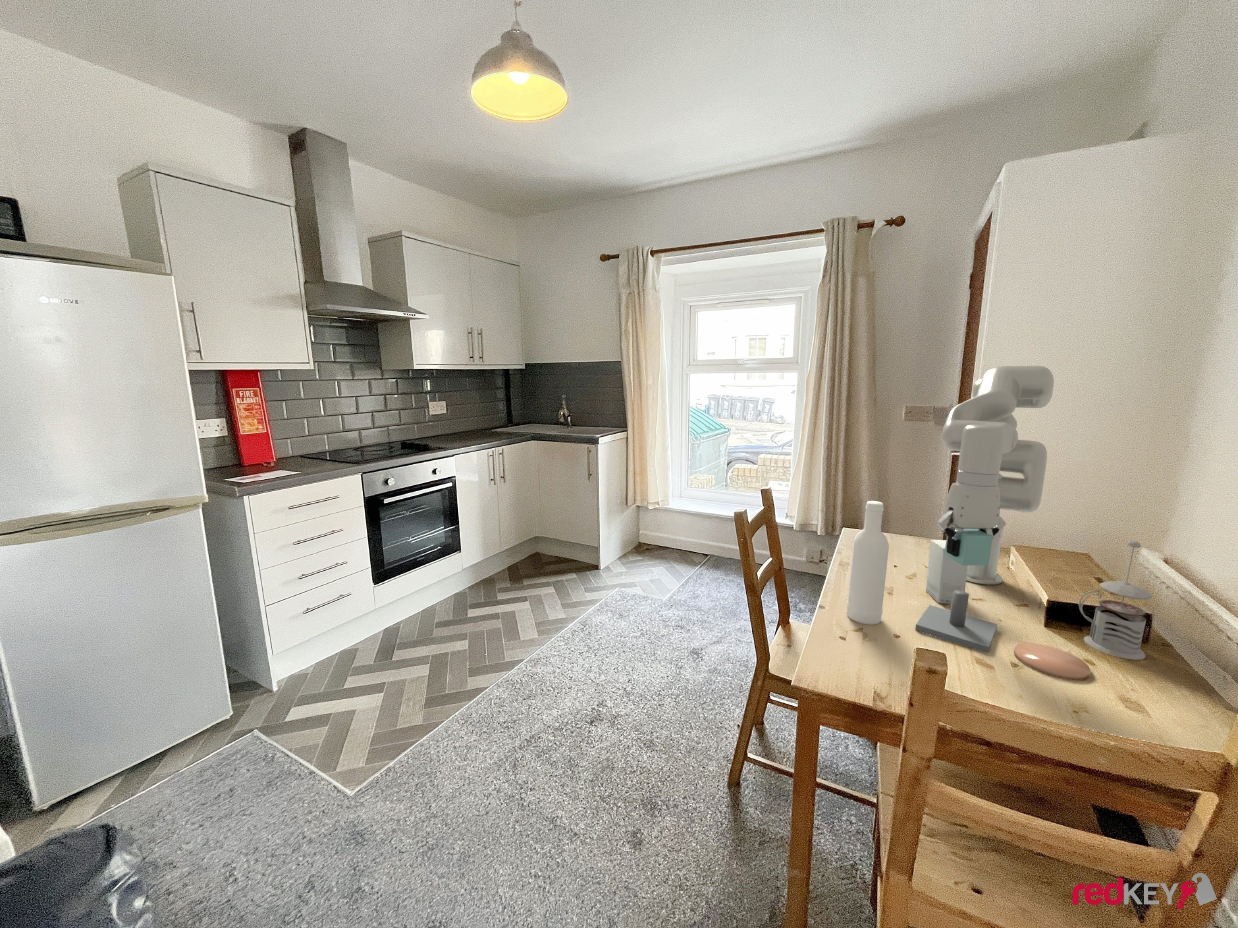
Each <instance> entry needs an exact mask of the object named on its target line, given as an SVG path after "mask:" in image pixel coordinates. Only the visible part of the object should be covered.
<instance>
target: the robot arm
mask: <svg viewBox="0 0 1238 928" xmlns="http://www.w3.org/2000/svg"><path fill="white" fill-rule="evenodd" d="M1054 382H1055V381H1054V375H1053V372H1052V371H1051V369H1050V368H1048V367H1046V366H1043V365H1004V366H1003V365H1002V366H1001V365H1000V366H996V367H993V368H991V369H989V370H987V371H986V372H985V373H984V374H983V375H982V377H981V378H978V379H977V380H976V381H975V382H974V384H973V385H972V398H969V399H968V400H965V401H963V402H962V403H959V404H957V405H956V406H955V407H953V408H952V409H951V410H950V412H948V415H947V417H946V420H945V423H944V425H943V428H942V432H941V443H942V445H943V447H944V448H945V449H948V451H949V450H950V451H953V452H954V451H955V452H959V458H958V466H957V473H956V481H955V482H953V483H952V484H951V485H950V488H949V491H948V493H947V496H946V500H945V504H944V509H943V514H942V516H941V517H940V518H939V519H938V520H937V521H936V522H935V523H936V525H937V526H938V527H939V529H941V531H942V532H943V534H944V535H945V536H946V538H947V537H948V541H947V553H949V554H951V555H953V556H955V557H958V556H959V548H960V540H958V539H959V537H960V535H961V533H962V531H963V529H977V530H980V531H982V532H985V533H987V534H989V535H992V536H993V538H992V545H991V551H990V558H989V565H968V567H967V576H966V582H969V583H970V582H971V583H976V584H980V585H989V586H992V585H999V584H1001V583H1002V582H1003V577H1002V575H1000V574H999V573H997V571H998V564H999V560H1000V559H999V558H1000V552H1001V551H1000V550H1001V545H1002V539H1003V532H1004V527H1005V526H1006V525H1007V523H1006V521H1005V520H1004V519H1003V518H1002V516H1001V515H1000V514H1001V510H1004V511H1005V510H1006V511H1012V512H1021V513H1033V512H1035V511H1037V510H1038V508H1039V507H1040V504H1041V501H1042V495H1043V488H1044V481H1045V476H1046V468H1047V461H1048V450H1047V448H1046V446H1045V445H1044V443H1042V442H1040V441H1036V440H1028V439H1019V433H1018V431H1017V427H1018V422H1017V419H1016V418H1015V416H1014V415H1013V413H1014V411H1015V410H1016V408H1018V409H1019V408H1020V409H1021V408H1022V409H1041V408H1044V407H1046V406H1047V405H1048V404H1049V402H1050V401H1051V399H1052V397H1053V391H1054V385H1055V384H1054ZM1000 472H1003V473H1004V472H1005V473H1015V474H1020V475H1021V476H1022V477H1013V476H1012V477H1011V476H1003V475H1002V473H1000ZM948 524H950V525H948ZM955 528H956V530H955ZM954 530H955V532H954Z"/></svg>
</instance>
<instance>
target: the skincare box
mask: <svg viewBox="0 0 1238 928" xmlns="http://www.w3.org/2000/svg"><path fill="white" fill-rule="evenodd" d="M945 547H946V539H944V540H943V539H942V540H941V539H930V540H929V553H928V560H927V561H928V564H927V576H926V584H925V585H926V587H925V592H926V591H927V592H928V593H927V592H926V593H927V594H929V596H931V597H932V599H934V601H936V602H937V603H938V604H946V605H952V599H953V591H955V590H960V591H964V592H966V585H967V580H966V576H967V567H968V565H961V564H959V563H957V562H955V561H953V560H951V559H950V558H948V557H946V556H944V554H945Z"/></svg>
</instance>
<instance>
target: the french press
mask: <svg viewBox="0 0 1238 928" xmlns="http://www.w3.org/2000/svg"><path fill="white" fill-rule="evenodd" d="M1127 546H1129V547H1131V548H1132V551H1131V556H1130V562H1129V565H1128V572H1127V575H1126V580H1125V581H1122V580H1121V581H1120V580H1117V581H1116V580H1112V581H1111V580H1110V581H1109V580H1108V581H1105V582H1101V583H1099V588H1101V590H1103V591H1105V592H1108V593H1110V594H1113V595H1116V596H1119V597H1122V600H1121V601H1118V600H1113V599H1102V595H1103V594H1102V593H1100V591H1099V590H1098V589H1094V590H1088V591H1087V592H1084V594H1083V595H1081V596H1080V598H1079V601H1078V609H1079V611H1080V613H1081V615H1082V616H1083V618H1085V619H1086V620H1087V621H1088V622H1090V623H1091V625H1090V631H1089V635H1087V636H1086V635H1085V636H1084V637H1083V641H1084V642H1085V643H1086V645H1088V646H1090V647H1091V648H1093V649H1094V650H1097V651H1099V652H1102V653H1104V654H1107V655H1110V656H1114V657H1118V658H1121V659H1126V660H1127V659H1129V660H1143V659H1145V658H1146V654H1145V652H1144V651H1143V650H1142V649H1141V646H1142V645H1141V644H1142V640H1143V635H1144V631H1145V626H1146V622H1147V619H1146V618H1145V617H1144V615H1146V612H1145V610H1144V609H1142V608H1140V607H1139V606H1136V605H1134V604H1133V605H1132V604H1130V603H1126V602H1124V601H1125V598H1126V599H1127V598H1128V599H1133V600H1144V601H1145V600H1146V601H1148V600H1150V599H1152V598H1153V595H1152V594H1151V593H1150V592H1149V591H1148V590H1147V589H1145V588H1144V587H1141V586H1139V585H1136V584H1133V583H1131V582H1129V581H1128V580H1129V575H1130V571H1131V565H1132V560H1133V556H1134V555H1133V554H1134V550H1135V548H1136V549H1140V548H1141V547H1142V545H1141V543H1140V542H1138V541H1136V540H1132V541H1129V542H1128V544H1127ZM1091 592H1093V593H1091ZM1094 592H1095V593H1094ZM1089 593H1090V594H1089ZM1086 595H1087V596H1086ZM1094 595H1097V598H1099V599H1101V600H1099V605H1097V606H1096V607H1095V610H1094V611H1095V612H1094V617H1093V619H1092V618H1090V617H1089V616H1086V614H1085V613H1084V610H1083V606H1084V602H1085V601H1086V600H1087V599H1088V598H1089V597H1091V596H1094ZM1085 596H1086V597H1085ZM1083 598H1084V599H1083ZM1082 600H1083V601H1082ZM1102 611H1106V612H1102ZM1107 611H1111V612H1113V613H1110V612H1107ZM1114 613H1115V614H1114ZM1116 614H1118V615H1119V616H1117V615H1116ZM1120 616H1121V617H1123V618H1124V619H1126V620H1124V619H1123V618H1121V617H1120ZM1111 623H1113V624H1115V625H1113V624H1111ZM1112 629H1113V630H1112Z"/></svg>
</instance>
